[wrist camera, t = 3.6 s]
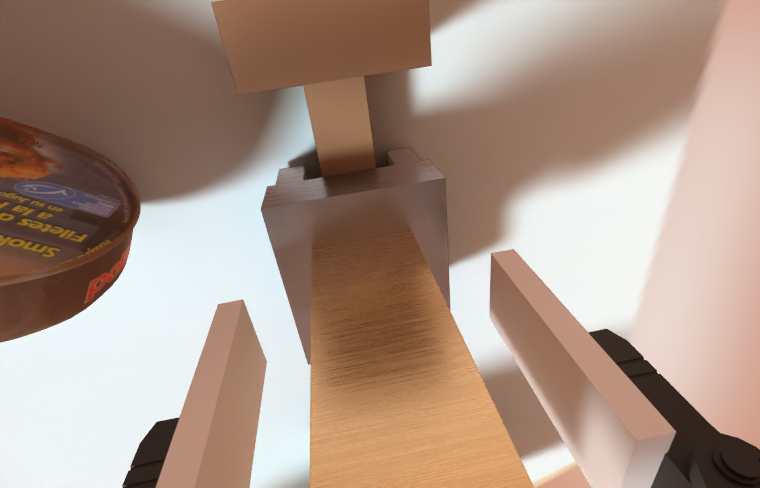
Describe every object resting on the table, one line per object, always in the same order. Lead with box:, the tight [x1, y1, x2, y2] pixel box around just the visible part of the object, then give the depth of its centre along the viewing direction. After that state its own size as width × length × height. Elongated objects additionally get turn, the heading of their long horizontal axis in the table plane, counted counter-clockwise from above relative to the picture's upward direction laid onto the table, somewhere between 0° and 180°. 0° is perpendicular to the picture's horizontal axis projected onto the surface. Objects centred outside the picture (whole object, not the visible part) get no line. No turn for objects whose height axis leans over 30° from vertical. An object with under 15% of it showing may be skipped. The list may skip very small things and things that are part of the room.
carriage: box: [261, 147, 534, 488], centre depth 12 cm, size 7×6×13 cm
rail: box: [211, 0, 432, 177], centre depth 17 cm, size 23×5×5 cm, turn 7°
